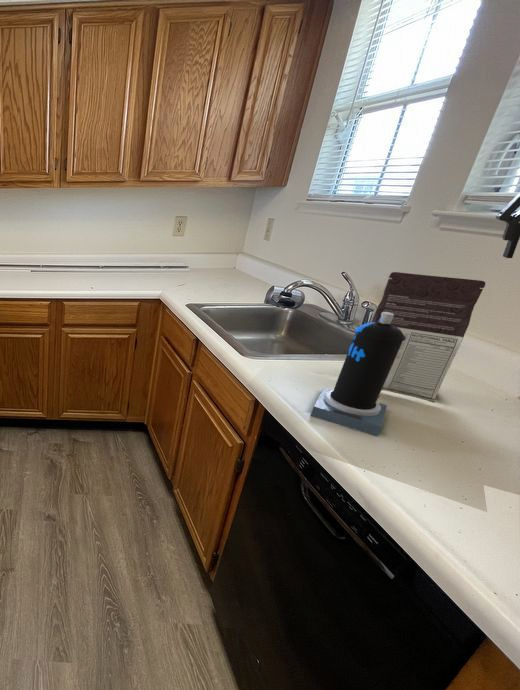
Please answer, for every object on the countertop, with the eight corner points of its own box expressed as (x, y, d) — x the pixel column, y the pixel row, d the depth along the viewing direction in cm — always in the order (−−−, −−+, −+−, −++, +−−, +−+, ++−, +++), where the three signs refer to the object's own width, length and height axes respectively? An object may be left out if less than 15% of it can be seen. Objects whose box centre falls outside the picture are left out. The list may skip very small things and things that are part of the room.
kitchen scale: (383, 414, 93) (389, 401, 92) (378, 436, 85) (384, 422, 84) (320, 396, 101) (324, 384, 99) (310, 415, 92) (315, 402, 91)
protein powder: (430, 389, 104) (485, 277, 92) (435, 403, 98) (495, 285, 86) (349, 372, 113) (390, 268, 101) (349, 384, 106) (392, 274, 94)
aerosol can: (374, 398, 93) (411, 311, 84) (377, 413, 87) (418, 322, 78) (330, 388, 97) (361, 305, 88) (330, 402, 91) (363, 314, 82)
